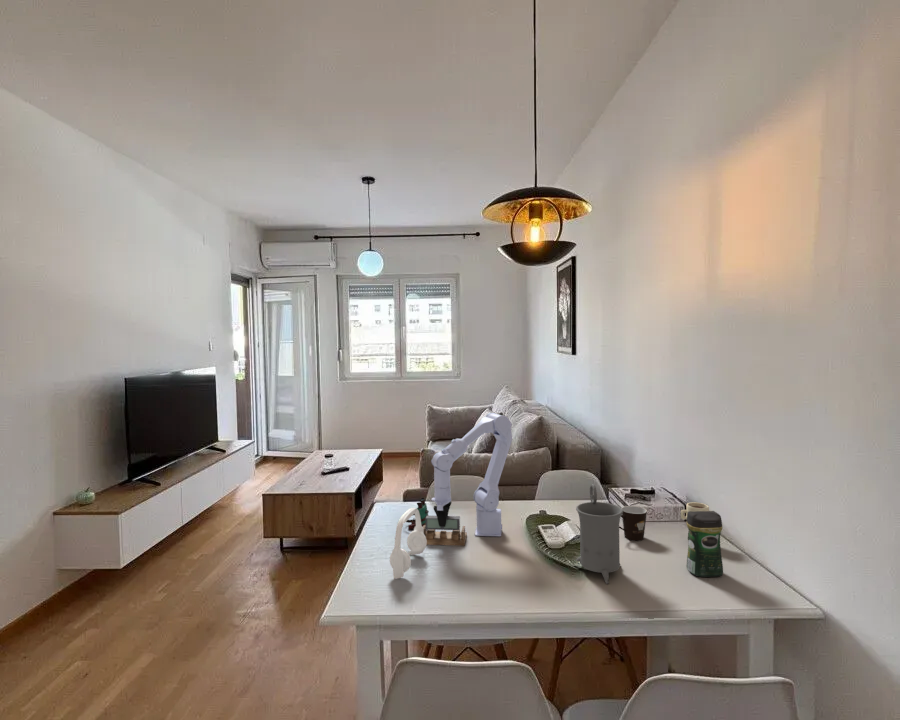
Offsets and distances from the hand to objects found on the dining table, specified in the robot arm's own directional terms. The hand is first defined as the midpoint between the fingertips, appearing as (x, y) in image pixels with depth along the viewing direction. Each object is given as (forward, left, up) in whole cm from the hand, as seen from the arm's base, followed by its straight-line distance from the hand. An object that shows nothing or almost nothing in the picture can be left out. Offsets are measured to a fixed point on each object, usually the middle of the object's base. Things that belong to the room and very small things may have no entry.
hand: (443, 524), depth 188 cm
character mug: (-88, -4, -6) cm, 88 cm away
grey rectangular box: (0, 0, -2) cm, 2 cm away
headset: (+8, +23, -6) cm, 25 cm away
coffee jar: (-82, +20, -6) cm, 85 cm away
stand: (0, 0, -6) cm, 6 cm away
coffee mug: (-66, -7, -6) cm, 67 cm away
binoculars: (+12, -12, -6) cm, 18 cm away
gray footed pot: (-51, +21, -6) cm, 55 cm away
